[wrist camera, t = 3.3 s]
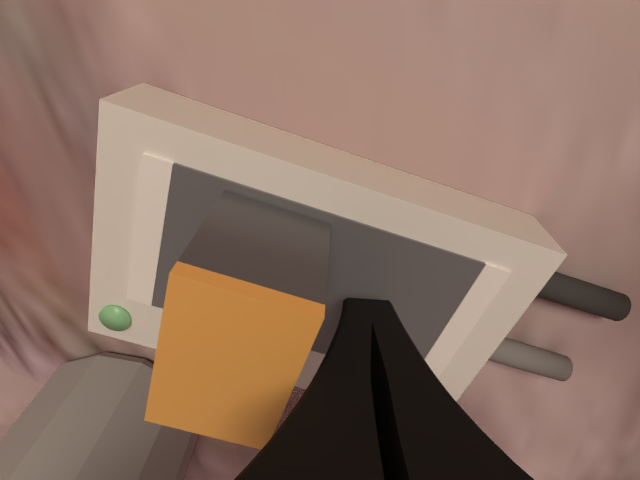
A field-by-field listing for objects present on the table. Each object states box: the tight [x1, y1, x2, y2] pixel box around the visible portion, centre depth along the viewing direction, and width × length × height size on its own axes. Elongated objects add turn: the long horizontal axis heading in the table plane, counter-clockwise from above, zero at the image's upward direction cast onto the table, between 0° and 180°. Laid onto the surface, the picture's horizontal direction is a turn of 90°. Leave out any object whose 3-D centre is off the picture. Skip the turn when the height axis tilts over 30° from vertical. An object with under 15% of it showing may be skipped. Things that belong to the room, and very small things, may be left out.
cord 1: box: [488, 338, 573, 381], centre depth 16 cm, size 5×1×1 cm, turn 72°
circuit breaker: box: [88, 83, 567, 401], centre depth 14 cm, size 13×8×3 cm, turn 72°
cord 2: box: [537, 272, 631, 321], centre depth 14 cm, size 5×1×1 cm, turn 72°
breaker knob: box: [144, 190, 331, 450], centre depth 10 cm, size 3×4×4 cm, turn 162°
